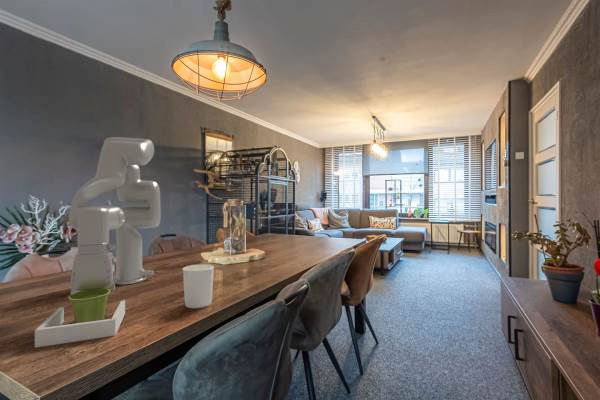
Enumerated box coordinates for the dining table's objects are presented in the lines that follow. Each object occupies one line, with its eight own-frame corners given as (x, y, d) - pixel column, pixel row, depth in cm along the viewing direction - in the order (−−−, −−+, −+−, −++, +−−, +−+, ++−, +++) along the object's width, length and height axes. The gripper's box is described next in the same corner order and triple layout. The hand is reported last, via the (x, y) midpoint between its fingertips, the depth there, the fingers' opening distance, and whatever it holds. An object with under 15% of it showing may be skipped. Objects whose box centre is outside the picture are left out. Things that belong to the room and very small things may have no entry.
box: (125, 313, 89) (125, 300, 89) (115, 335, 74) (115, 319, 74) (59, 322, 82) (59, 307, 82) (34, 347, 68) (34, 330, 68)
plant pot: (66, 336, 74) (66, 301, 74) (69, 323, 82) (69, 291, 82) (110, 327, 79) (110, 294, 79) (109, 315, 87) (109, 286, 87)
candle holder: (187, 299, 102) (187, 264, 102) (216, 298, 103) (216, 264, 103) (178, 309, 92) (178, 271, 92) (210, 308, 93) (210, 270, 93)
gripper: (125, 246, 92) (125, 304, 92) (66, 249, 86) (66, 311, 86) (121, 250, 85) (121, 313, 85) (57, 253, 79) (56, 321, 79)
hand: (93, 312), depth 86 cm, fingers closed
